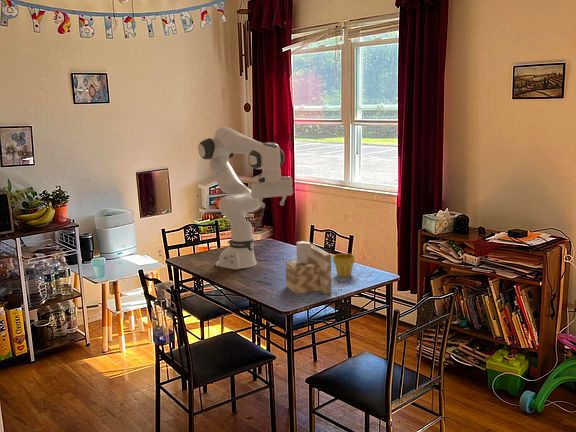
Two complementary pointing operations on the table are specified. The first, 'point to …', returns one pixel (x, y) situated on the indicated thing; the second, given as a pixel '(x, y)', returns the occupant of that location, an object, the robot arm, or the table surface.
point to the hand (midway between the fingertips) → (272, 206)
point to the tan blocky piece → (310, 273)
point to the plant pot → (343, 264)
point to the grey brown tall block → (302, 252)
